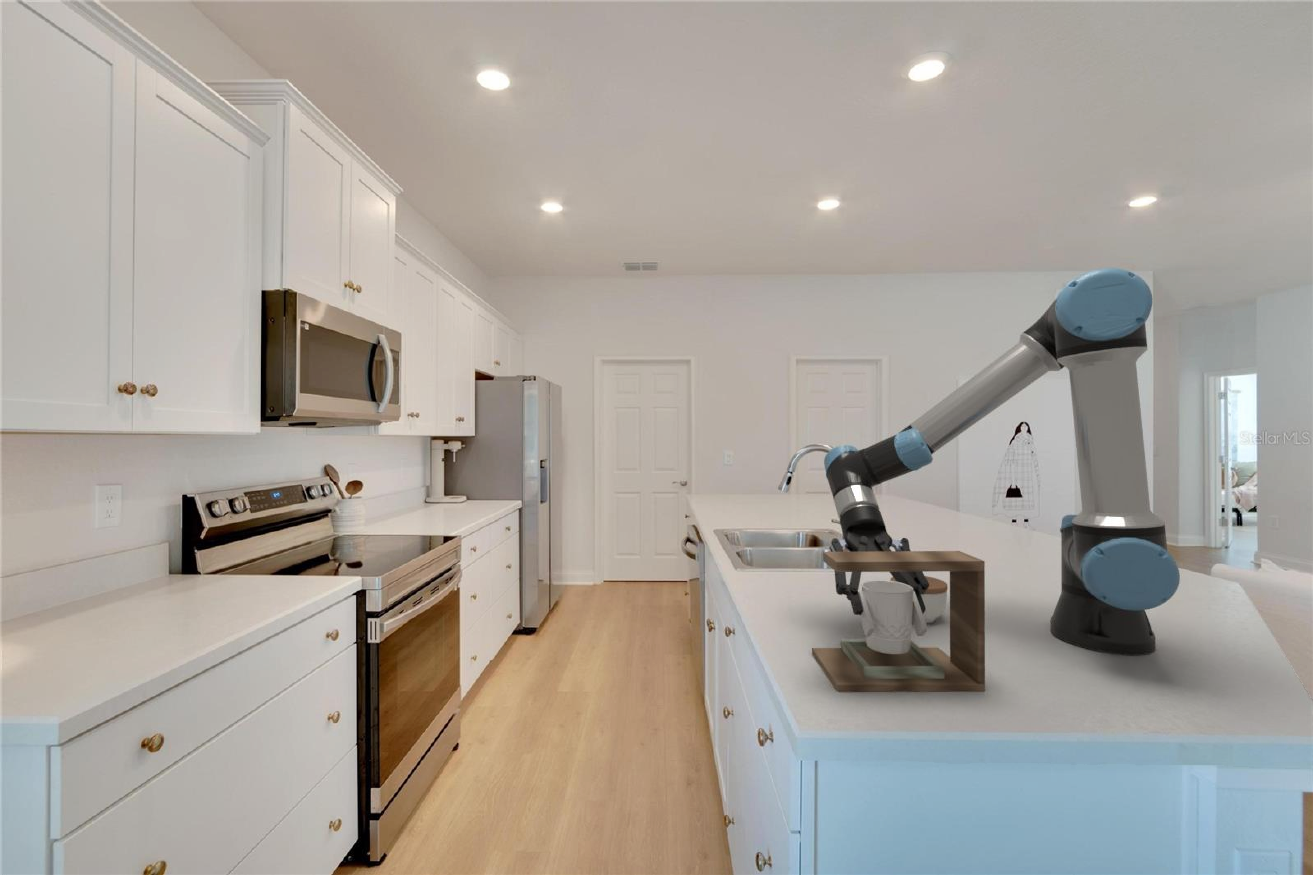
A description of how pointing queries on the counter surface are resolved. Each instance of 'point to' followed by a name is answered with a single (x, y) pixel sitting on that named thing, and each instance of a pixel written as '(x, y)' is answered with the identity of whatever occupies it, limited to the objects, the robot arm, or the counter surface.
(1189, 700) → the counter surface
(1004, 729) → the counter surface
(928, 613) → the lidded jar
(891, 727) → the counter surface
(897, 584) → the white cup
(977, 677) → the shelf unit
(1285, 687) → the counter surface
